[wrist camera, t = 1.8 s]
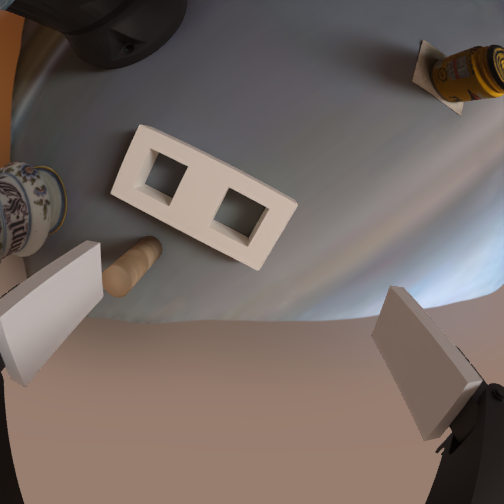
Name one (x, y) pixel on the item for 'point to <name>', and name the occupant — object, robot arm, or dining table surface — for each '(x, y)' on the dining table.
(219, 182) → the hole block
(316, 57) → the dining table surface
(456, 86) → the condiment
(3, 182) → the apothecary jar
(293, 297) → the dining table surface
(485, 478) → the robot arm
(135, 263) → the dowel
